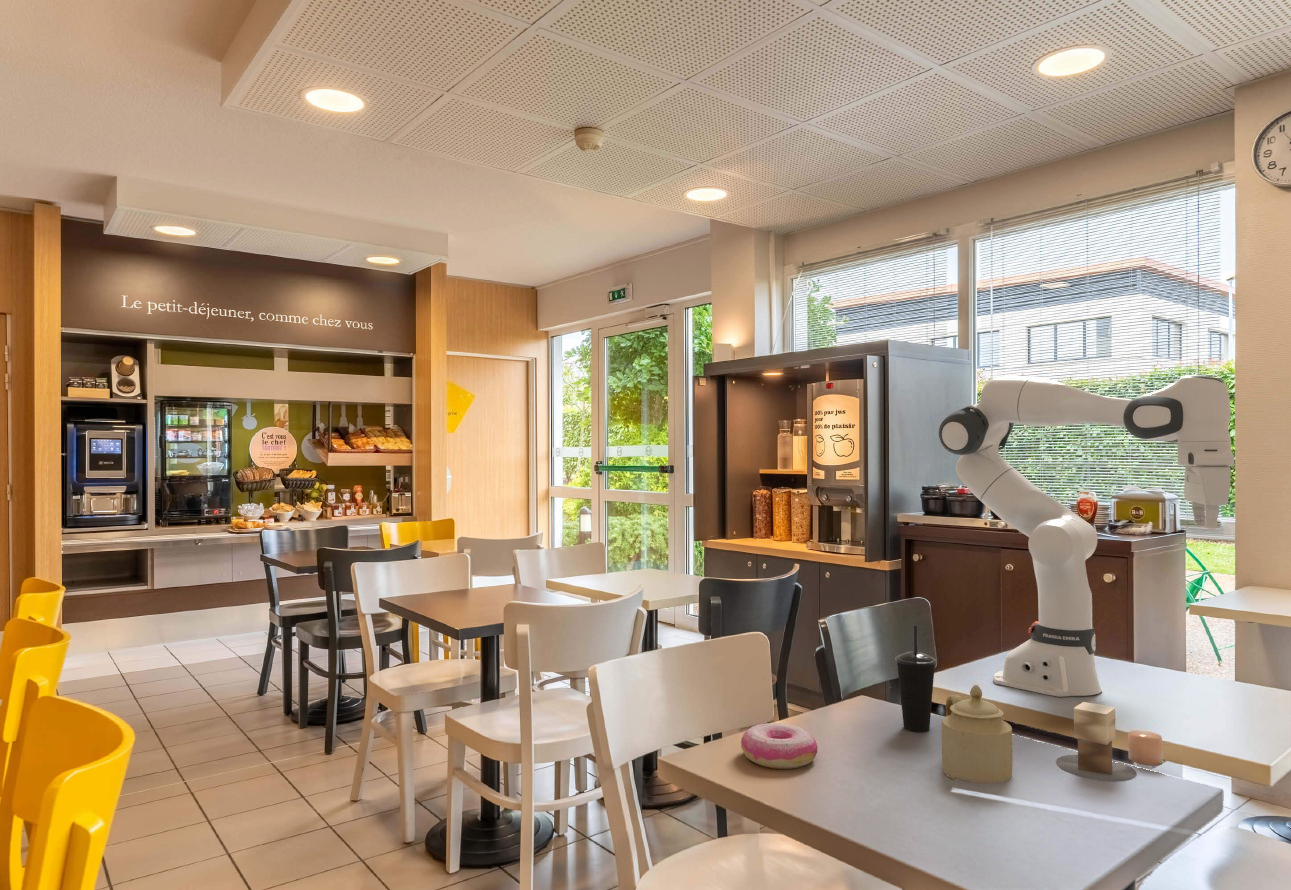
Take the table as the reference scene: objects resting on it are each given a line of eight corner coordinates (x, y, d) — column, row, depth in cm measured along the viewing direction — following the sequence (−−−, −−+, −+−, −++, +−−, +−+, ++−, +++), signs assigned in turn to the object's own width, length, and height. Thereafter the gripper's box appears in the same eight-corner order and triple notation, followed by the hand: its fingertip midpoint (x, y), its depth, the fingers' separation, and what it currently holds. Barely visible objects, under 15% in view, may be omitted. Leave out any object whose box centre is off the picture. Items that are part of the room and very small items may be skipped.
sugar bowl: (910, 762, 144) (909, 676, 145) (952, 751, 150) (951, 667, 150) (983, 792, 132) (982, 697, 132) (1027, 778, 137) (1026, 687, 137)
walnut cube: (1078, 769, 139) (1077, 739, 139) (1079, 759, 143) (1078, 730, 144) (1112, 774, 137) (1111, 744, 137) (1112, 765, 141) (1111, 735, 141)
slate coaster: (1047, 772, 139) (1047, 769, 139) (1065, 753, 148) (1065, 749, 148) (1129, 790, 132) (1129, 786, 132) (1142, 768, 141) (1142, 765, 141)
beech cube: (1074, 737, 140) (1073, 708, 140) (1083, 730, 144) (1083, 701, 144) (1106, 744, 137) (1106, 714, 137) (1115, 737, 140) (1115, 707, 140)
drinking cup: (896, 732, 160) (894, 628, 160) (896, 720, 167) (895, 621, 168) (937, 736, 158) (936, 631, 158) (936, 723, 165) (935, 623, 166)
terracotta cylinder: (1126, 764, 143) (1125, 735, 143) (1131, 756, 147) (1130, 728, 147) (1160, 771, 140) (1159, 741, 140) (1164, 763, 144) (1163, 734, 144)
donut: (775, 779, 138) (775, 749, 138) (725, 755, 149) (724, 727, 149) (833, 762, 145) (833, 734, 145) (780, 741, 156) (780, 714, 156)
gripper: (1175, 456, 175) (1176, 522, 175) (1196, 456, 156) (1197, 530, 156) (1210, 456, 172) (1211, 523, 172) (1236, 456, 153) (1237, 531, 153)
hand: (1205, 526), depth 164 cm, fingers open, 8 cm apart
